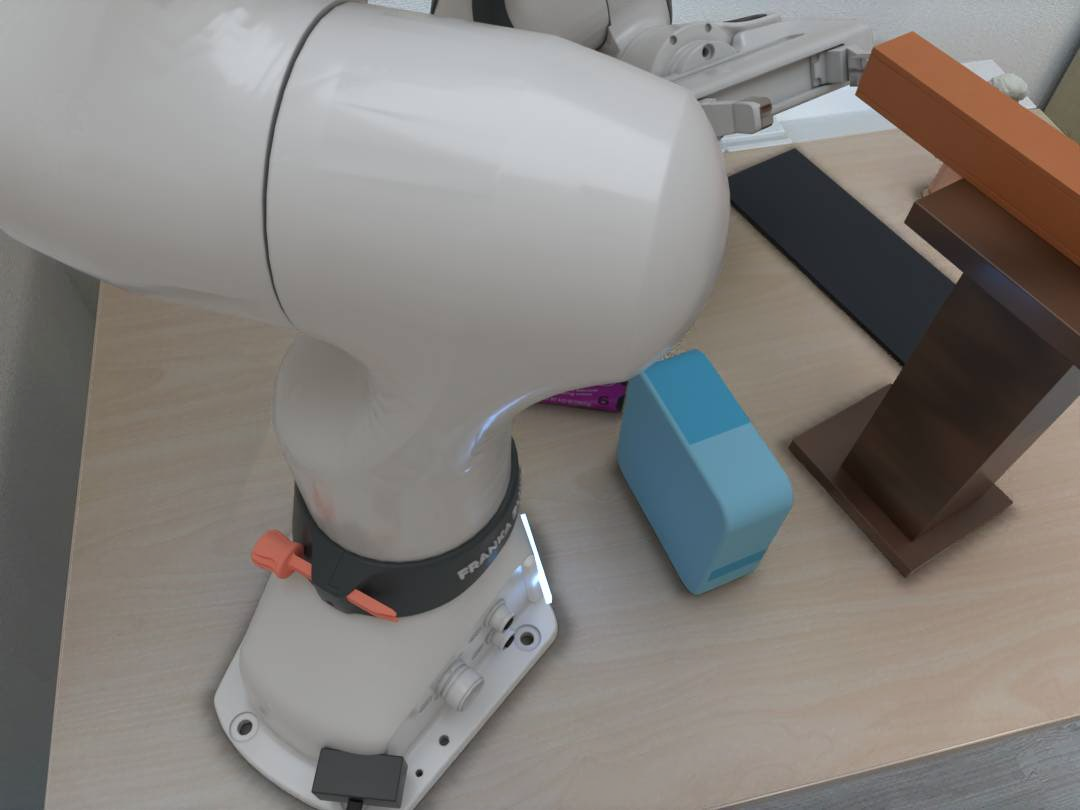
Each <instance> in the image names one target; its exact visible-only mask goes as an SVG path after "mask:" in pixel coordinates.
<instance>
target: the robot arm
mask: <svg viewBox="0 0 1080 810" xmlns="http://www.w3.org/2000/svg"><path fill="white" fill-rule="evenodd" d="M430 2H431V3H430V10H429V12H430V13H426V12H421V11H415V10H409V9H403V8H397V7H391V6H385V5H379V4H375V3H374V4H373V3H369V0H0V230H1V231H3V232H4V233H5V234H6V235H8V236H9V237H10V238H12V239H13V240H15V241H16V242H19V243H21V244H23V245H24V246H26V247H29V248H31V249H33V250H34V251H37V252H39V253H41V254H44V255H45V256H47V257H49V258H51V259H53V260H56V261H57V262H60V263H62V264H64V265H66V266H67V267H70V268H72V269H74V270H76V271H78V272H81V273H83V274H85V275H88V276H90V277H92V278H95V279H97V280H99V281H101V282H103V283H106V284H108V285H111V286H113V287H115V288H116V289H120V290H121V291H124V292H126V293H129V294H131V295H134V296H137V297H142V298H146V299H151V300H155V301H159V302H164V303H168V304H173V305H177V306H182V307H187V308H191V309H195V310H200V311H204V312H209V313H213V314H217V315H222V316H227V317H231V318H236V319H240V320H244V321H248V322H253V323H257V324H261V325H262V324H263V325H266V326H271V327H276V328H280V329H284V330H289V331H294V332H296V333H297V332H298V334H297V335H296V337H295V338H293V340H292V341H291V342H290V344H289V345H288V347H287V348H286V350H285V352H284V353H283V355H282V357H281V359H280V361H279V364H278V366H277V369H276V372H275V375H274V380H273V385H272V388H271V389H272V391H271V400H270V419H271V420H270V421H271V426H272V431H273V434H274V437H275V439H276V442H277V444H278V446H279V448H280V450H281V453H282V454H283V457H284V459H285V462H286V463H287V465H288V468H289V470H290V473H291V474H292V477H293V482H294V483H293V501H292V521H291V522H292V523H291V528H290V531H289V533H288V536H286V535H285V534H283V532H281V531H279V530H277V529H275V528H272V529H269V530H267V531H265V532H264V533H263V534H262V535H261V536H260V537H259V539H257V542H256V543H255V544H254V547H253V548H252V554H251V557H250V558H251V563H252V564H253V565H254V566H257V567H258V568H261V569H264V570H266V571H269V572H271V574H270V576H269V578H268V581H267V584H266V585H265V589H264V591H263V593H262V594H261V597H260V599H259V602H258V605H257V606H256V609H255V611H254V613H253V616H252V618H251V621H250V623H249V625H248V628H247V629H246V632H245V635H244V637H243V638H242V640H241V642H240V644H239V646H238V649H237V650H236V652H235V654H234V656H233V658H232V659H231V661H230V664H229V665H228V667H227V669H226V670H225V674H224V675H223V677H222V679H221V680H220V683H219V685H218V687H217V690H215V694H214V697H213V706H214V709H215V713H216V716H217V718H218V721H219V723H220V726H221V727H222V729H223V732H224V733H225V734H226V736H227V738H228V739H229V741H230V742H231V744H232V745H233V746H234V748H235V749H236V750H237V751H238V753H239V754H240V755H241V756H242V757H243V758H244V759H245V761H247V763H248V764H249V765H251V767H253V768H254V769H255V770H256V771H257V772H258V773H260V774H261V775H262V776H263V777H264V778H266V779H267V780H269V782H272V783H273V784H274V785H276V786H277V787H279V788H280V789H281V790H283V791H284V792H286V793H288V794H289V795H291V796H293V797H294V798H296V799H297V800H299V801H301V802H303V803H304V804H306V805H308V806H310V807H312V808H315V809H316V810H415V808H416V807H417V806H418V805H419V803H421V801H423V799H424V798H425V796H426V795H427V794H428V793H429V792H430V790H432V788H433V786H435V785H436V783H437V782H438V781H439V780H440V779H441V777H442V776H443V775H444V774H445V772H447V770H448V769H449V768H450V767H451V765H452V764H453V763H454V762H455V760H456V759H457V758H458V757H459V756H460V754H462V752H463V751H464V750H465V748H466V747H468V745H469V744H470V742H471V741H473V739H474V738H475V736H476V735H477V734H478V733H479V732H480V730H481V729H483V727H484V726H485V725H486V724H487V722H488V721H489V720H490V718H491V717H493V715H494V714H495V713H496V712H497V710H498V709H499V708H500V707H501V705H502V704H503V703H504V702H505V701H506V700H507V698H508V697H509V696H510V694H511V693H512V692H513V691H514V690H515V688H517V686H518V685H519V684H520V683H521V681H522V680H523V679H524V678H525V676H526V675H527V674H528V673H529V672H530V671H531V669H532V668H533V667H534V666H535V664H536V663H537V662H538V661H539V660H540V658H541V657H542V656H543V655H544V654H545V653H546V651H547V650H548V649H549V648H550V647H551V646H552V644H553V643H554V641H555V639H557V635H558V630H559V629H558V627H559V626H558V621H557V617H556V614H555V611H554V610H553V607H552V605H551V604H552V600H553V597H552V596H553V595H552V593H551V590H550V587H549V584H548V581H547V578H546V575H545V571H544V568H543V565H542V562H541V559H540V556H539V552H538V550H537V547H536V544H535V541H534V537H533V534H532V531H531V527H530V525H529V522H528V519H527V516H526V513H523V514H521V513H520V512H521V511H520V503H521V496H522V489H523V488H522V484H523V482H522V481H523V479H522V477H523V476H522V466H521V464H520V463H519V455H518V453H519V452H518V448H517V445H516V442H515V439H514V437H513V426H514V420H515V416H516V415H518V414H519V413H521V412H522V411H524V410H526V409H527V408H529V407H530V406H533V405H534V404H537V403H540V402H539V401H541V400H544V399H546V398H548V397H551V396H554V395H557V394H560V393H563V392H567V391H571V390H575V389H580V388H585V387H590V386H597V385H603V384H610V383H618V382H625V381H628V382H629V381H630V379H631V378H633V377H635V376H636V375H638V374H640V373H642V372H643V371H645V370H646V369H647V368H649V367H650V366H652V365H653V364H654V363H656V362H658V361H661V360H662V358H663V357H665V355H666V354H668V353H669V352H670V351H671V350H672V349H673V348H674V347H675V346H676V345H677V344H678V343H679V342H680V341H681V340H682V339H683V337H684V336H685V335H686V334H687V333H688V332H689V331H690V330H691V328H692V327H693V325H694V324H695V323H696V321H697V319H698V318H699V316H700V315H701V314H702V312H703V310H704V309H705V306H706V305H707V303H708V302H709V299H710V297H711V295H712V293H713V292H714V289H715V286H716V284H717V281H718V280H719V276H720V275H721V271H722V267H723V264H724V262H725V261H724V260H725V257H726V252H727V247H728V242H729V237H730V228H731V211H732V209H731V203H730V189H729V182H728V177H729V175H728V170H727V166H726V162H725V158H724V154H723V150H722V147H721V145H720V141H721V140H722V139H723V138H724V137H726V136H731V135H735V134H743V135H754V134H756V133H758V132H761V131H764V130H765V129H768V128H770V127H772V126H773V124H774V122H775V121H774V116H777V115H779V114H781V113H783V112H786V111H788V110H791V109H793V108H795V107H798V106H800V105H803V104H805V103H808V102H810V101H813V100H815V99H818V98H820V97H822V96H825V95H827V94H831V93H832V92H835V91H838V90H840V89H842V88H845V87H847V86H849V87H851V88H852V87H853V88H854V87H855V88H858V85H859V83H860V80H861V77H862V75H863V72H864V69H865V67H866V64H867V62H868V59H869V56H870V54H871V51H872V49H873V47H874V46H875V44H874V34H873V28H872V27H871V25H870V24H869V23H867V22H866V21H864V20H861V19H853V18H822V17H821V18H813V17H812V18H811V17H810V18H794V19H786V20H782V16H781V13H780V12H775V11H773V12H772V11H771V12H764V13H760V14H759V13H758V14H751V15H748V16H743V17H740V18H735V19H731V20H723V21H715V20H714V21H710V20H709V21H708V20H707V21H696V22H695V21H694V22H685V23H673V0H431V1H430ZM526 636H528V637H531V638H532V640H533V642H531V644H524V643H523V642H522V641H521V640H522V638H524V637H526ZM246 724H251V729H250V731H249V732H248V733H246V734H241V730H242V728H243V727H244V725H246ZM445 739H446V740H448V743H447V744H445V745H442V744H441V742H442V741H443V740H445ZM420 773H421V776H418V774H420Z"/></svg>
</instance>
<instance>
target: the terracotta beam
mask: <svg viewBox="0 0 1080 810" xmlns="http://www.w3.org/2000/svg"><path fill="white" fill-rule="evenodd" d="M854 96H855V97H857V98H858V99H859V100H861V101H862V102H863V103H864V104H865V105H867V106H868V107H870V108H871V110H872V109H873V110H874V111H875V112H876V113H878V115H880V116H881V117H883V118H884V119H885V120H887V121H888V122H889V123H890V124H892V125H893V126H894V127H896V128H897V129H898V130H900V131H901V133H904V134H905V135H906V136H907V137H909V138H910V139H911V140H912V141H913V142H916V143H917V145H919V146H921V147H922V148H923V149H924V150H926V151H927V152H929V153H930V154H931V155H932V156H933V157H934V156H935V157H936V158H935V157H934V158H935V159H937V158H938V159H937V160H939V161H940V162H941V163H942V164H943V163H944V164H945V165H947V166H948V167H949V168H951V169H952V170H953V171H955V172H956V173H957V174H959V175H960V176H961V177H962V178H964V179H965V180H966V181H968V182H969V183H970V184H972V185H973V186H974V187H976V188H977V189H978V190H979V191H981V192H982V193H983V194H985V195H986V196H987V197H989V198H990V199H991V200H993V201H994V202H995V203H996V204H998V205H999V206H1000V207H1002V208H1003V209H1004V210H1006V211H1007V212H1008V213H1010V214H1011V215H1012V216H1013V217H1015V218H1016V219H1017V220H1019V221H1020V222H1021V223H1023V224H1024V225H1025V226H1026V227H1028V228H1029V229H1030V230H1032V231H1033V232H1034V233H1036V234H1037V235H1038V236H1040V237H1041V238H1042V239H1043V240H1045V241H1046V242H1047V243H1049V244H1050V245H1051V246H1053V247H1054V248H1055V249H1057V250H1058V251H1059V252H1060V253H1062V254H1063V255H1064V256H1066V257H1067V258H1068V259H1070V260H1071V261H1072V262H1074V263H1075V264H1076V265H1077V266H1079V267H1080V144H1079V143H1078V142H1076V141H1075V140H1073V139H1072V138H1071V137H1070V136H1067V135H1066V134H1064V132H1062V131H1061V130H1059V129H1057V128H1056V127H1055V126H1053V125H1052V124H1050V123H1048V121H1046V120H1044V119H1043V118H1041V117H1039V116H1038V115H1037V114H1035V113H1034V112H1032V111H1031V110H1029V109H1028V108H1026V107H1025V106H1024V105H1022V104H1021V103H1019V102H1016V101H1015V100H1013V99H1012V98H1010V97H1009V96H1007V95H1006V94H1004V93H1003V92H1001V91H1000V90H999V89H997V88H996V87H994V86H993V85H991V84H990V83H988V80H985V79H984V78H983V77H981V76H979V75H978V74H977V73H976V72H974V71H972V70H971V69H969V68H968V67H966V66H965V65H963V64H962V63H960V62H959V61H957V59H955V58H953V57H952V56H951V55H949V54H947V52H944V51H943V50H942V49H940V48H938V47H937V46H936V45H934V44H932V43H931V42H930V41H928V40H927V39H925V38H924V37H922V36H921V35H919V34H918V33H916V32H915V31H909V32H907V33H904V34H901V35H898V36H897V37H894V38H892V39H889V40H887V41H884V42H881V43H879V44H877V45H874V47H873V49H872V51H871V54H870V56H869V59H868V62H867V64H866V67H865V69H864V72H863V75H862V77H861V80H860V83H859V85H858V87H856V91H855V93H854Z"/></svg>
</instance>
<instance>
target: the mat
mask: <svg viewBox="0 0 1080 810" xmlns="http://www.w3.org/2000/svg"><path fill="white" fill-rule="evenodd" d="M728 182H729V189H730V205H731V206H732V207H734V209H736V210H737V211H738V212H739V213H740V214H741V215H742V216H743V217H744V218H745V219H746V220H747V221H748V222H749V223H751V224H752V226H754V227H755V228H756V229H757V230H758V231H759V232H760V233H761V234H762V235H763V236H764V237H765V238H766V239H767V240H768V241H769V242H771V243H772V244H773V245H774V246H775V247H776V248H777V249H778V250H779V251H780V252H781V253H782V254H783V255H784V256H786V258H788V259H789V260H790V261H791V262H792V263H793V264H794V265H795V266H796V267H797V268H798V269H799V270H800V271H801V272H802V273H803V274H804V275H805V276H806V277H808V278H809V279H810V280H811V281H812V282H813V284H815V285H816V287H818V288H819V289H820V290H821V291H822V292H824V294H826V296H828V297H829V298H830V299H831V300H832V301H833V302H834V303H835V304H836V305H837V306H838V307H839V308H840V309H841V310H842V311H843V312H844V313H846V315H848V316H849V317H850V319H852V321H854V323H856V324H857V325H858V326H859V327H860V328H861V329H863V330H864V332H866V333H867V335H869V336H870V337H871V338H872V339H873V340H874V341H875V342H876V343H877V344H878V345H879V346H881V348H882V349H884V351H886V352H887V353H888V354H889V355H890V356H891V358H893V359H894V360H895V361H896V362H897V363H898V364H899V365H900V366H901V367H902V368H903V367H904V365H905V364H906V362H907V360H908V359H909V357H910V356H911V354H912V353H913V351H914V349H915V348H916V346H917V345H918V343H919V341H920V340H921V338H922V337H923V335H924V334H925V332H926V330H927V329H928V327H929V326H930V324H931V323H932V321H933V319H934V318H935V316H936V315H937V313H938V312H939V310H940V308H941V307H942V305H943V304H944V302H945V300H946V299H947V297H948V296H949V294H950V293H951V291H952V289H953V288H954V286H955V285H956V283H955V282H953V281H952V280H951V279H950V278H949V277H948V276H947V275H945V274H944V273H943V272H942V271H941V270H939V268H937V266H935V265H933V264H932V263H931V262H930V261H929V260H928V259H927V258H926V257H925V256H923V255H922V254H921V253H920V252H918V251H917V250H916V249H915V248H914V247H912V246H911V245H910V244H909V243H908V242H907V241H905V240H904V239H903V238H902V237H901V236H900V235H898V233H896V232H895V231H894V230H892V229H891V228H890V227H889V226H888V225H887V224H886V223H884V222H883V221H882V220H880V218H878V217H877V216H876V215H875V214H874V213H872V212H871V211H870V210H869V209H868V208H866V207H865V206H864V205H863V203H862V204H861V202H859V200H857V199H856V198H855V197H854V196H852V195H851V194H850V193H849V192H848V191H847V190H845V189H844V188H843V187H842V186H840V185H839V184H838V182H836V181H835V180H833V179H832V178H831V177H830V176H829V175H828V174H826V173H825V172H824V171H823V170H821V169H820V168H819V167H818V166H817V165H816V164H815V163H813V162H812V161H811V160H810V159H809V158H808V157H807V156H805V155H804V154H803V153H802V152H800V151H799V150H798V149H797V148H796V147H794V148H791V149H790V150H787V151H785V152H782V153H780V154H778V155H775V156H773V157H770V158H768V159H766V160H764V161H761V162H758V163H757V164H754V165H752V166H750V167H748V168H745V169H743V170H741V171H738V172H735V173H733V174H731V175H728Z"/></svg>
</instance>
